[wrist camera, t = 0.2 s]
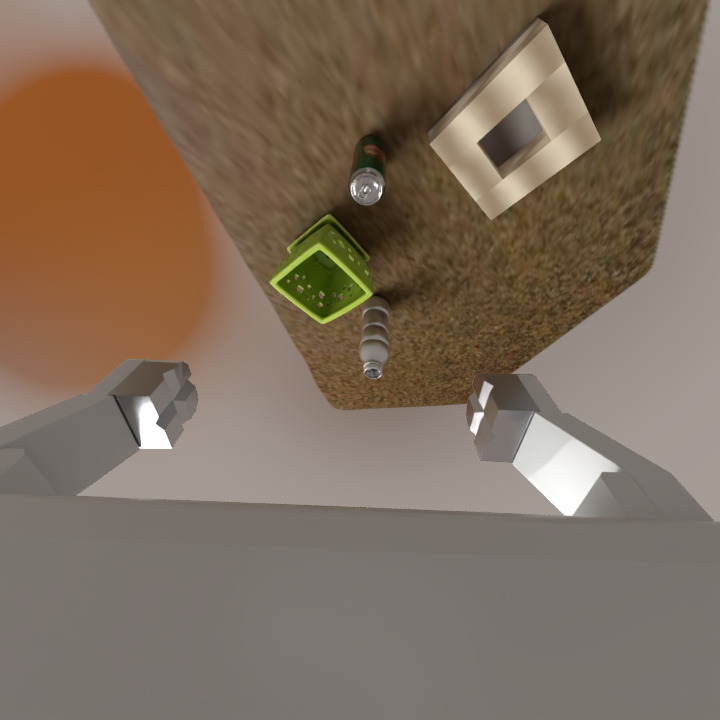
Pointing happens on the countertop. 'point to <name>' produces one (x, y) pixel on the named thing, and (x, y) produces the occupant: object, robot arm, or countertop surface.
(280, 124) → the countertop surface
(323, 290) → the flower pot
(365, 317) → the plastic bottle
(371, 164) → the soda can
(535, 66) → the can holder
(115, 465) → the robot arm
